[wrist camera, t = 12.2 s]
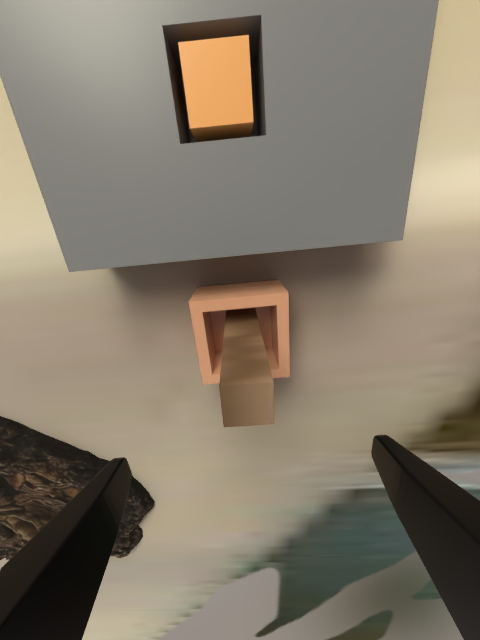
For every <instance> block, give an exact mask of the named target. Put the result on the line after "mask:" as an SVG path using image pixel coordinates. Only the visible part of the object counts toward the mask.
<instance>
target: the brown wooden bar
mask: <svg viewBox="0 0 480 640" xmlns="http://www.w3.org/2000/svg"><path fill="white" fill-rule="evenodd" d="M219 388H220V397H221V406H222V415H223V424H224V427H235V426H251V425H267V424H274V381H273V377H272V373H271V369H270V365H269V361H268V357H267V353H266V349H265V345H264V341H263V337H262V333H261V329H260V325H259V321H258V317H257V313H256V309H255V308H253V309H238V310H226V319H225V329H224V340H223V350H222V361H221V372H220V382H219Z"/></svg>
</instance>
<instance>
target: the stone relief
mask: <svg viewBox="0 0 480 640" xmlns="http://www.w3.org/2000/svg"><path fill="white" fill-rule="evenodd" d="M109 462H110V461H108V460H104V459H100V458H98V457H96V456H95V455H93V454H92V453H90V452H88V451H84V450H81V449H78V448H76V447H74V446H72V445H70V444H67V443H65V442H62V441H60V440H57V439H55V438H52V437H50V436H47V435H45V434H42V433H40V432H38V431H35V430H33V429H31V428H29V427H27V426H25V425H23V424H20V423H18V422H15V421H13V420H10V419H7V418H4V417H1V416H0V560H1V559H3V558H6V559H7V560H8V559H9V560H10V559H11V558H12V557H13V556H14V555H15V554H16V553H17V552H18V551H19V550H20V549H21V548H22V547H23V546H24V545H25V544H26V543H28V542H29V541H30V540H31V539H32V538H33V537H34V536H35V535H36V534H37V533H38V532H39V531H40V530H41V529H42V528H43V527H44V526H45V525H46V524H47V523H48V522H49V521H50V520H51V519H52V518H53V517H54V516H55V515H56V514H57V513H58V512H59V511H60V510H61V509H62V508H63V507H64V506H65V505H66V504H67V503H68V502H69V501H70V500H71V499H72V498H73V497H75V496H76V495H77V494H78V493H79V492H80V491H81V490H82V489H83V488H84V487H85V486H86V485H87V484H88V483H89V482H90V481H91V480H92V479H93V478H94V477H95V476H96V475H97V474H98V473H99V472H100V471H101V470H102V469H103V468H104V467H105V466H106V465H107V464H108V463H109ZM153 506H154V500H153V499H152V498H151V496H150V494H149V492H148V491H147V490H146V489H145V488H144V487H143V486H142V484H141V483H140V482H138V481H137V480H136V479H135V478H134V477H133V476H132V479H131V483H130V487H129V491H128V496H127V500H126V504H125V508H124V512H123V516H122V520H121V524H120V527H119V531H118V534H117V537H116V540H115V543H114V546H113V549H112V552H111V555H110V556H115V557H117V558H122V557H125V556H127V555H129V552H130V551H131V550H132V549H133V548H134V547H135V546H136V545H137V544H138V543H139V541H140V540H141V539H142V537H143V534H142V532H143V531H142V529H141V528H140V527H139V526H138V524H139V523H140V521H141V520H142V518H143V517H144V515H146V514H147V513H148V512H149V511H150V510H151V509H152V508H153Z"/></svg>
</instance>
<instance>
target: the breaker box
mask: <svg viewBox="0 0 480 640" xmlns="http://www.w3.org/2000/svg"><path fill="white" fill-rule="evenodd" d="M438 1H439V0H0V76H1V79H2V82H3V85H4V88H5V90H6V93H7V96H8V99H9V102H10V105H11V108H12V110H13V113H14V116H15V119H16V122H17V125H18V128H19V130H20V133H21V136H22V139H23V142H24V145H25V147H26V150H27V153H28V156H29V159H30V162H31V165H32V167H33V170H34V173H35V176H36V179H37V182H38V184H39V187H40V190H41V193H42V196H43V199H44V202H45V204H46V207H47V210H48V213H49V216H50V219H51V222H52V224H53V227H54V230H55V233H56V236H57V239H58V241H59V244H60V247H61V250H62V253H63V256H64V259H65V261H66V264H67V267H68V270H69V272H74V271H84V270H95V269H105V268H116V267H126V266H137V265H147V264H158V263H168V262H178V261H189V260H199V259H210V258H220V257H231V256H241V255H252V254H262V253H273V252H283V251H294V250H304V249H314V248H325V247H335V246H346V245H356V244H367V243H377V242H388V241H398V240H403V234H404V227H405V220H406V214H407V207H408V200H409V194H410V187H411V181H412V174H413V167H414V161H415V154H416V147H417V141H418V134H419V127H420V121H421V114H422V107H423V101H424V94H425V88H426V81H427V74H428V68H429V61H430V54H431V48H432V41H433V34H434V28H435V21H436V14H437V8H438ZM242 35H249V50H250V68H251V85H252V103H253V121H254V122H253V128H252V133H251V137H244V138H234V139H224V140H215V141H205V142H196V141H195V138H194V136H193V134H192V132H191V130H190V126H189V118H188V111H187V104H186V96H185V89H184V82H183V74H182V67H181V60H180V52H179V45H178V42H186V41H196V40H205V39H214V38H223V37H233V36H242Z"/></svg>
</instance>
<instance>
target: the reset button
mask: <svg viewBox="0 0 480 640" xmlns="http://www.w3.org/2000/svg"><path fill="white" fill-rule="evenodd" d="M178 45H179V52H180V60H181V67H182V74H183V82H184V89H185V96H186V104H187V111H188V118H189V126H190V130H191V132H192V134H193V136H194V138H195V141H196V142H205V141H215V140H224V139H234V138H244V137H251V133H252V128H253V122H254V121H253V103H252V85H251V68H250V50H249V35H242V36H233V37H223V38H214V39H205V40H196V41H186V42H178Z"/></svg>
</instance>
